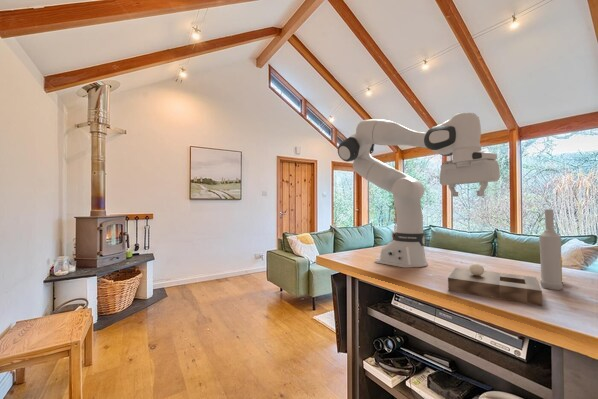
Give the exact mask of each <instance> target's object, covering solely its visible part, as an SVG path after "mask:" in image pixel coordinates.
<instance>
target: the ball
mask: <svg viewBox="0 0 598 399" xmlns="http://www.w3.org/2000/svg"><path fill="white" fill-rule="evenodd" d="M484 268H485V267H484V266H483V265H482V264H481V263H478V262H474V263H471V264H470V265H469V268H468V269H469V270H470V272H471V273H472V274H473V275H475V276H480V275H482V274H483V273H484V271H485V269H484Z"/></svg>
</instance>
